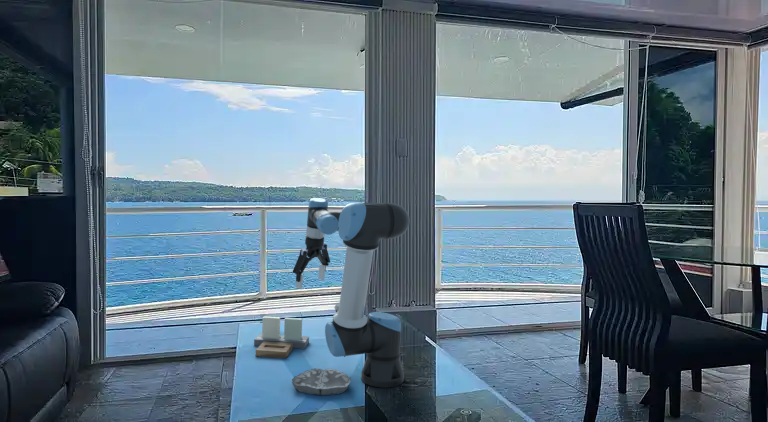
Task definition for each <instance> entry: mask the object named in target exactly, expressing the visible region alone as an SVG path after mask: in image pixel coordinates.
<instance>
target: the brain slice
mask: <svg viewBox="0 0 768 422" xmlns="http://www.w3.org/2000/svg"><path fill="white" fill-rule="evenodd" d="M351 380H352V378H351V377H350V376H348V375H347V374H346V373H344V372H342V371H340V370H337V369H334V368H325V369H323V368H312V369H309V370H305V371H303V372H301V373H299V374H297V375H295V376H294V377H292V380H291V385H292V386H293V388H294V389H295V390H297V391H298V392H299V393H304V394H309V395H315V396H316V395H317V396H319V395H320V396H330V395H339V394H342V393H344V392H345V391H347V389H349V386H350V385H351Z"/></svg>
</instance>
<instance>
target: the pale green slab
mask: <svg viewBox="0 0 768 422" xmlns="http://www.w3.org/2000/svg"><path fill="white" fill-rule="evenodd" d="M261 323H262V332H261V333H262V338H276V339H280V335H281V317H278V316H263V317H262V322H261Z"/></svg>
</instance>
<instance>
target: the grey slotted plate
mask: <svg viewBox="0 0 768 422" xmlns="http://www.w3.org/2000/svg"><path fill="white" fill-rule="evenodd" d="M264 341H265V342H281V343H293V349H300V350H301V349H303V350H304V349H306V347H307V346H308V344H309V343H310V336H308V335H307V336H304V335H302V340H292V339H284V334H280V339H276V338H262V332H260V333H259V334H258V335H257V336H256V337H254V339H253V345H254V346H256V347H259V346H260V345H261V344H262V343H263V342H264Z"/></svg>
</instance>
